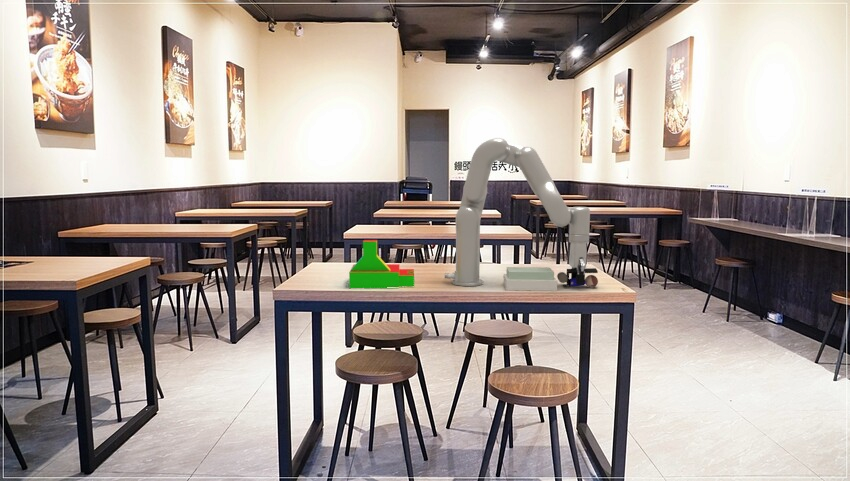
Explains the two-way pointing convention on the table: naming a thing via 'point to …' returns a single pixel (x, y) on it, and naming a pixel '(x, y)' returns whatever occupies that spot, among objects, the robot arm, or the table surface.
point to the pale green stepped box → (530, 279)
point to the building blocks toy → (377, 271)
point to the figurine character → (562, 277)
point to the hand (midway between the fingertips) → (577, 282)
